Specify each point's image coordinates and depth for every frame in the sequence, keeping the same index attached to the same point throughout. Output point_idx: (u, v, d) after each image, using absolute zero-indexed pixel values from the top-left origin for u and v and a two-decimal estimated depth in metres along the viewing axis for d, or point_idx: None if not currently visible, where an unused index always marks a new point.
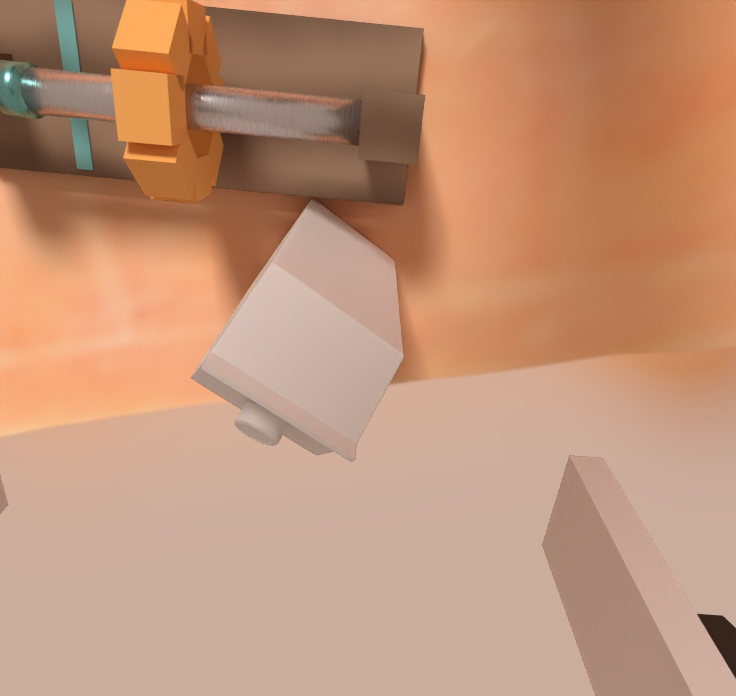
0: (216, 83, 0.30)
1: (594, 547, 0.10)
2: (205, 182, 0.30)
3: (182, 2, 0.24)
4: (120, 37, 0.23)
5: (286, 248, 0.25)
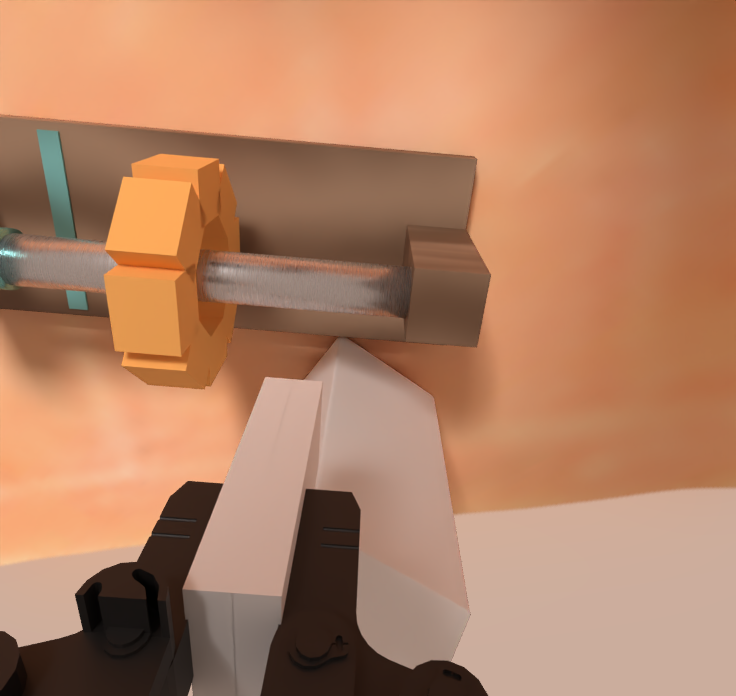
0: (231, 231, 0.25)
1: None
2: (220, 352, 0.25)
3: (192, 174, 0.20)
4: (115, 233, 0.18)
5: (323, 473, 0.20)
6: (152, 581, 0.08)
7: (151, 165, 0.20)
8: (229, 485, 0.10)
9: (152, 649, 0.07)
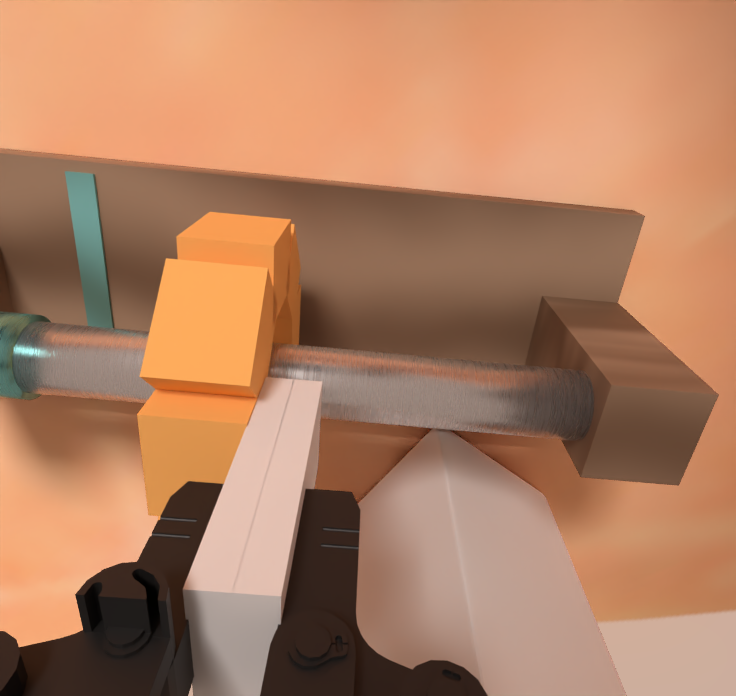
0: (295, 306, 0.19)
1: None
2: None
3: (265, 252, 0.13)
4: (155, 349, 0.12)
5: (490, 690, 0.14)
6: (152, 581, 0.08)
7: (205, 238, 0.13)
8: (229, 485, 0.10)
9: (152, 649, 0.07)
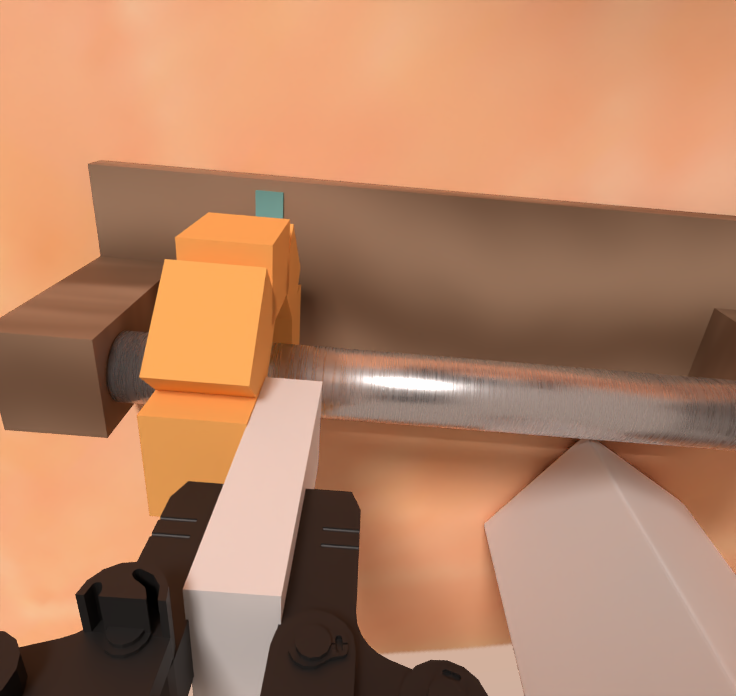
0: (295, 306, 0.19)
1: None
2: None
3: (264, 251, 0.13)
4: (155, 349, 0.12)
5: None
6: (152, 581, 0.08)
7: (204, 239, 0.13)
8: (230, 485, 0.10)
9: (152, 649, 0.07)
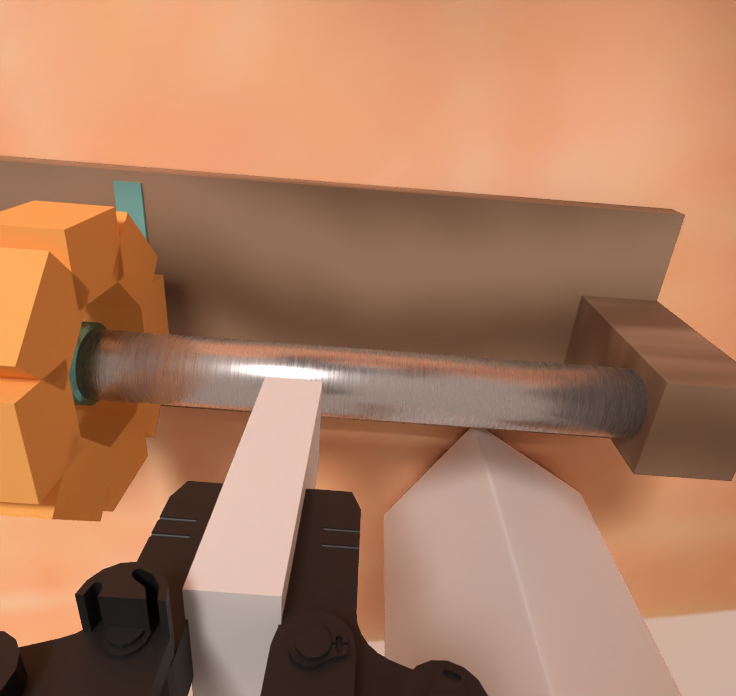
0: (148, 295, 0.19)
1: None
2: (131, 458, 0.19)
3: (57, 236, 0.14)
4: None
5: (554, 685, 0.14)
6: (152, 581, 0.08)
7: None
8: (229, 485, 0.10)
9: (152, 649, 0.07)
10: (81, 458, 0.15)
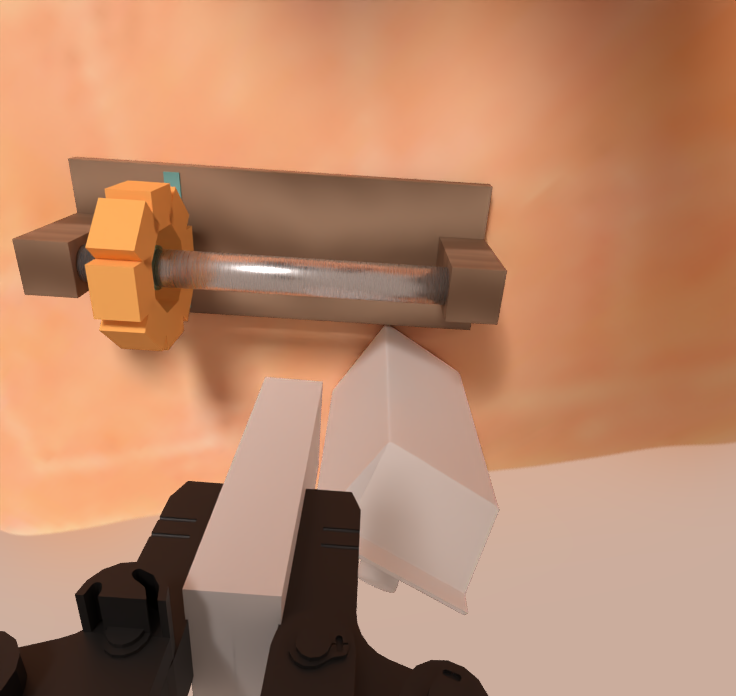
0: (184, 236, 0.34)
1: None
2: (176, 326, 0.33)
3: (147, 195, 0.28)
4: (93, 236, 0.27)
5: (392, 413, 0.29)
6: (152, 581, 0.08)
7: (118, 189, 0.28)
8: (229, 485, 0.10)
9: (152, 649, 0.07)
10: (155, 310, 0.30)
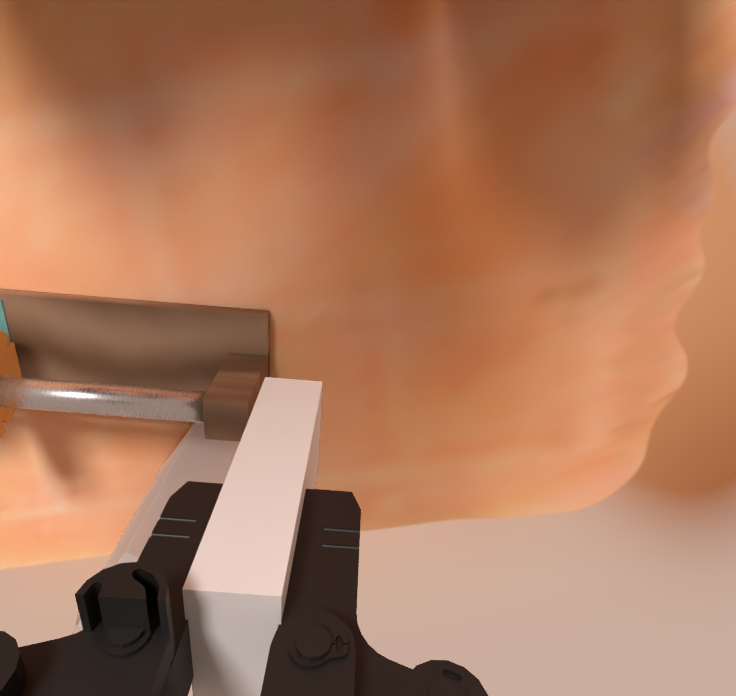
0: (2, 354, 0.40)
1: None
2: None
3: None
4: None
5: (144, 521, 0.35)
6: (152, 581, 0.08)
7: None
8: (229, 485, 0.10)
9: (152, 649, 0.07)
10: None
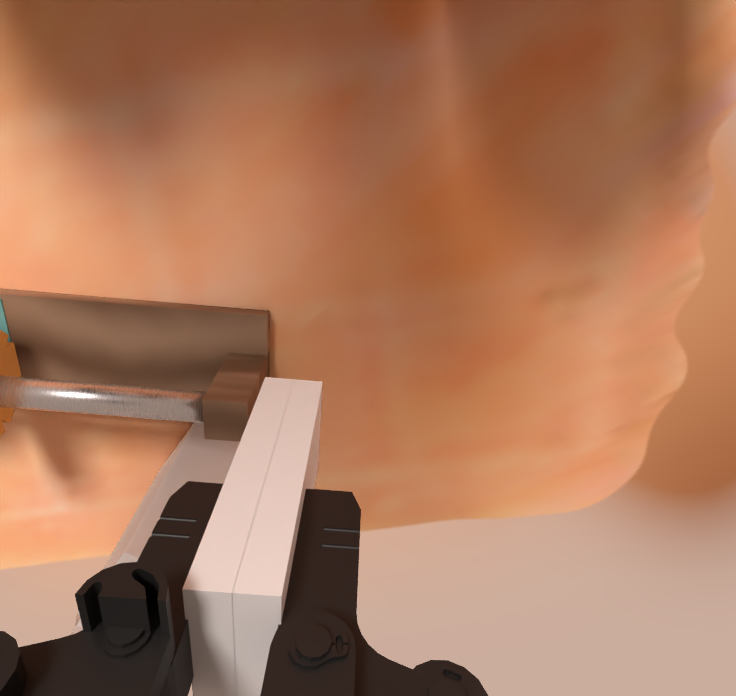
0: (2, 354, 0.40)
1: None
2: None
3: None
4: None
5: (144, 521, 0.35)
6: (152, 581, 0.08)
7: None
8: (229, 485, 0.10)
9: (152, 649, 0.07)
10: None
